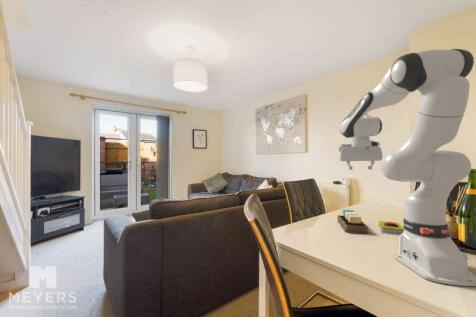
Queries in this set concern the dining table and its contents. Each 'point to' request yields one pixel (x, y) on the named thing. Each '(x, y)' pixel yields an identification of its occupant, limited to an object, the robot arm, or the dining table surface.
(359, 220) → the yellow block
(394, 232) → the emergency button
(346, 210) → the teal block
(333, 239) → the dining table surface
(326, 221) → the dining table surface
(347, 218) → the white block
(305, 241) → the dining table surface
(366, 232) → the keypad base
